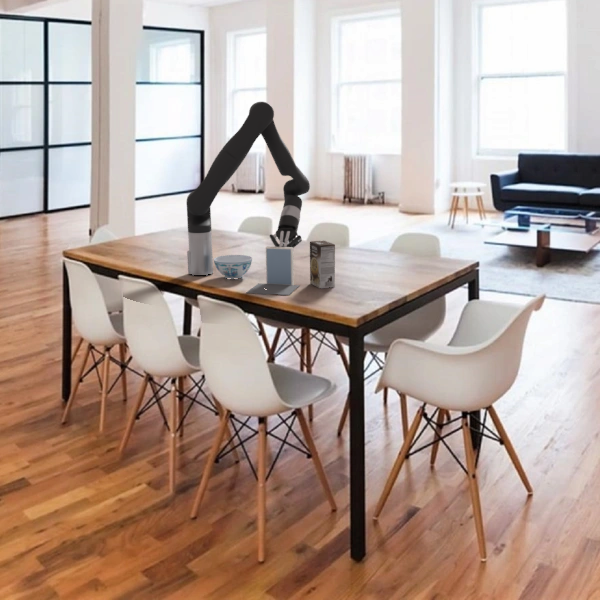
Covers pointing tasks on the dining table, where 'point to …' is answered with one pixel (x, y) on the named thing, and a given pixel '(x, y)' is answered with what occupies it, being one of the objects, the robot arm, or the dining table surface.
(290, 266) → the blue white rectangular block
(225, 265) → the chinaware
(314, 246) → the coffee box
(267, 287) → the rubber mat
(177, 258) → the dining table surface
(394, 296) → the dining table surface
